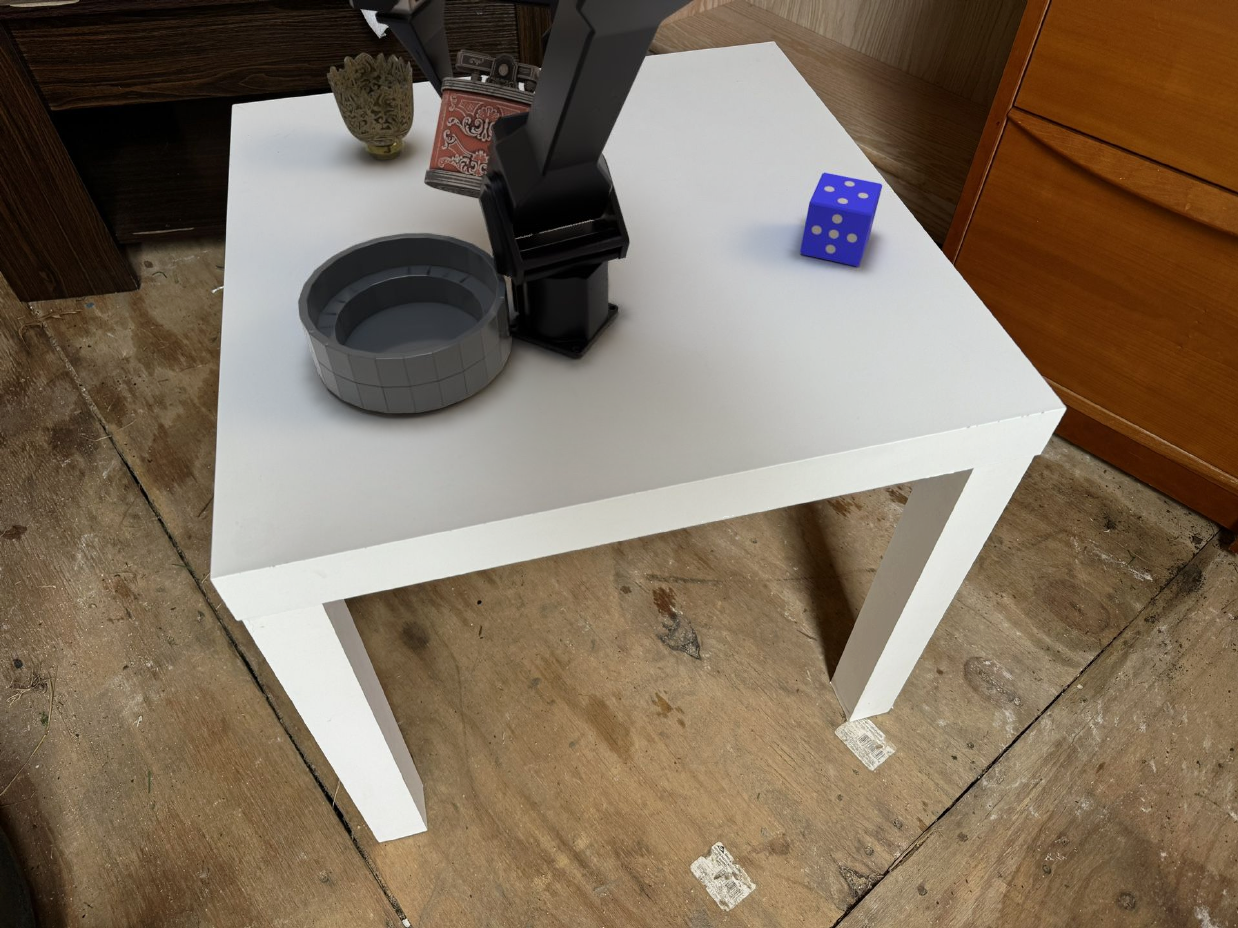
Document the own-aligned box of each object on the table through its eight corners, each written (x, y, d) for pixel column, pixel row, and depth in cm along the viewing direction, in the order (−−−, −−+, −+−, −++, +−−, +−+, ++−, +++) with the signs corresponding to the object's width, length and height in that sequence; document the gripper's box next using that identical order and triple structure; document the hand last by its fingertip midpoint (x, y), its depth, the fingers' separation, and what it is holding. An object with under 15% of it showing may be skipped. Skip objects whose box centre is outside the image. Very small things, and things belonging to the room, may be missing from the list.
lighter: (534, 210, 67) (560, 76, 66) (528, 199, 63) (555, 58, 62) (430, 189, 67) (455, 56, 66) (418, 177, 63) (444, 37, 63)
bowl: (547, 326, 68) (543, 266, 63) (437, 445, 59) (424, 385, 55) (398, 273, 72) (385, 214, 68) (276, 377, 64) (253, 317, 59)
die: (858, 267, 73) (871, 214, 69) (799, 254, 74) (809, 201, 70) (869, 235, 76) (883, 183, 72) (812, 223, 77) (822, 171, 73)
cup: (390, 181, 81) (373, 96, 75) (330, 160, 84) (309, 76, 78) (440, 145, 86) (428, 63, 80) (382, 126, 88) (365, 45, 82)
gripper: (656, -158, 58) (649, 79, 69) (396, -178, 61) (431, 51, 73) (608, -108, 51) (609, 147, 62) (316, -135, 54) (369, 112, 66)
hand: (501, 110), depth 66 cm, fingers closed on lighter, 8 cm apart
